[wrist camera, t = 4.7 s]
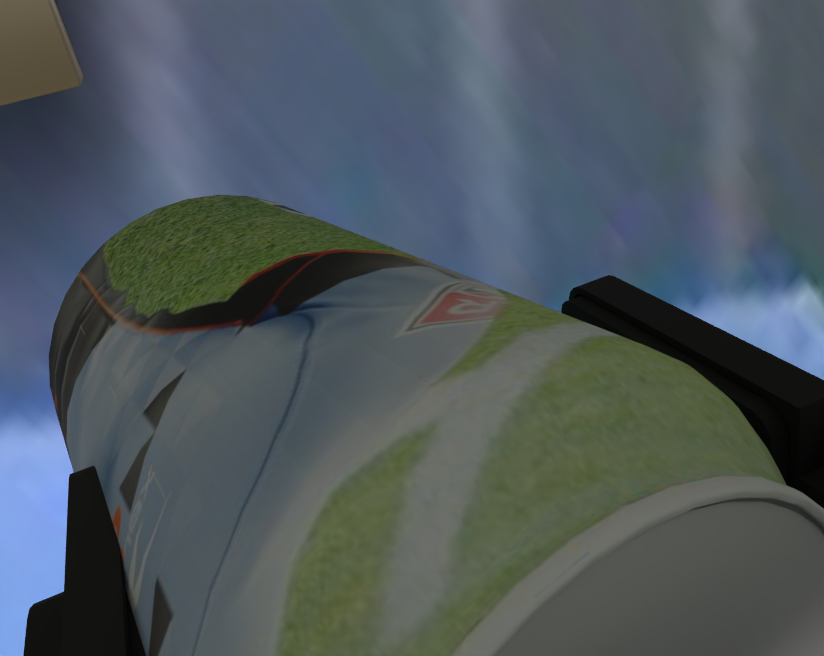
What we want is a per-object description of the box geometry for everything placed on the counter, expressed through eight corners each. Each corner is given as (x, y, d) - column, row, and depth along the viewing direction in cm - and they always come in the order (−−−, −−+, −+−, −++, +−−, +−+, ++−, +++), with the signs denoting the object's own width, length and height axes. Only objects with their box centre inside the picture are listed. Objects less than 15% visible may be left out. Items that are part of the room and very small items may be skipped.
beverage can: (-26, 334, 14) (-378, 1337, 3) (289, 67, 14) (856, 224, 4) (215, 524, 17) (420, 1341, 6) (467, 303, 17) (1042, 744, 7)
